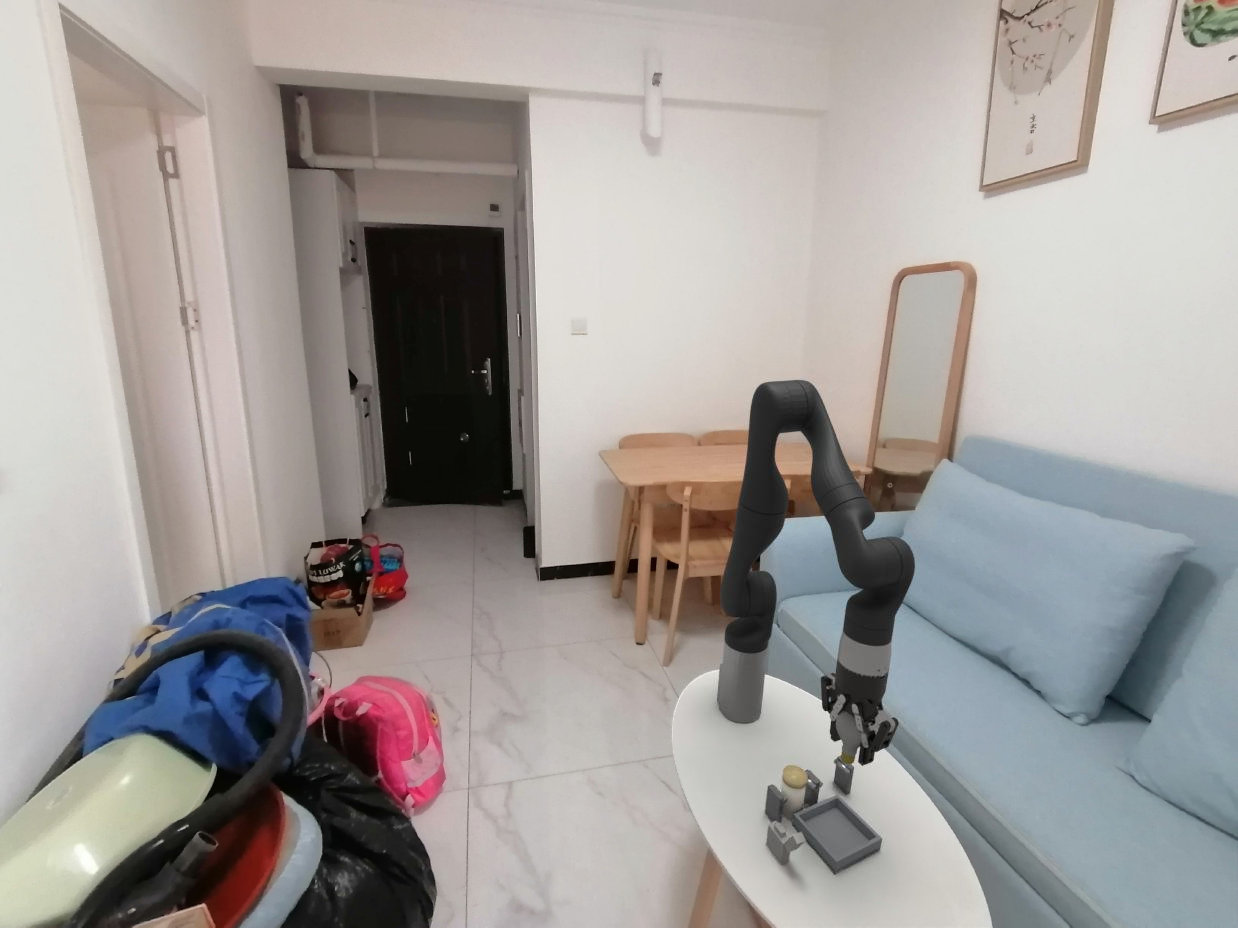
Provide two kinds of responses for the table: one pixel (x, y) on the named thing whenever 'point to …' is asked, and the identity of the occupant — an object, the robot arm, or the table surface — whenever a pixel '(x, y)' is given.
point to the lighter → (782, 841)
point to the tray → (836, 833)
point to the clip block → (809, 789)
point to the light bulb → (848, 736)
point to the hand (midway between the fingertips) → (850, 750)
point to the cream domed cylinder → (793, 790)
